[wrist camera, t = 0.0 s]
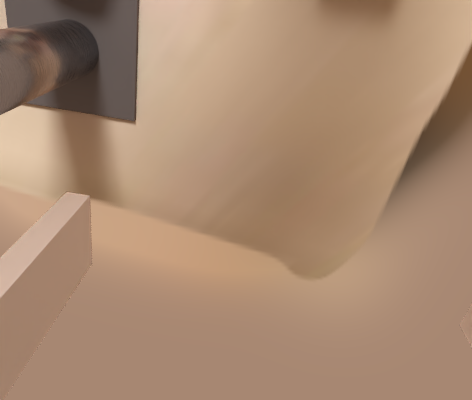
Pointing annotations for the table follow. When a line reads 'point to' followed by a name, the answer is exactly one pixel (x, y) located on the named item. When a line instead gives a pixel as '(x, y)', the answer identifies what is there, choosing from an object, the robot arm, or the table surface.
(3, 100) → the pin
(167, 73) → the table surface
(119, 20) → the mat
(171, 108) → the table surface
